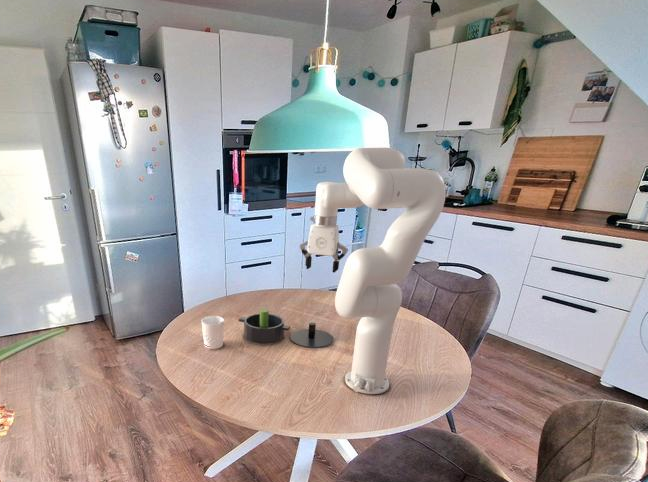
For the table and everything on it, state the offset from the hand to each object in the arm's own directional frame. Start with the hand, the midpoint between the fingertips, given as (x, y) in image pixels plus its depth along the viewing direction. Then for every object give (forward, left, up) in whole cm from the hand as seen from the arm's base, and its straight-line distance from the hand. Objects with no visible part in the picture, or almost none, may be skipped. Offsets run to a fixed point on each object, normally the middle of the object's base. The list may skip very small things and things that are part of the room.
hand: (321, 269), depth 138 cm
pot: (-12, +17, -25) cm, 32 cm away
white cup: (-27, +30, -25) cm, 47 cm away
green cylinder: (-12, +17, -24) cm, 32 cm away
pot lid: (-7, 0, -24) cm, 25 cm away
